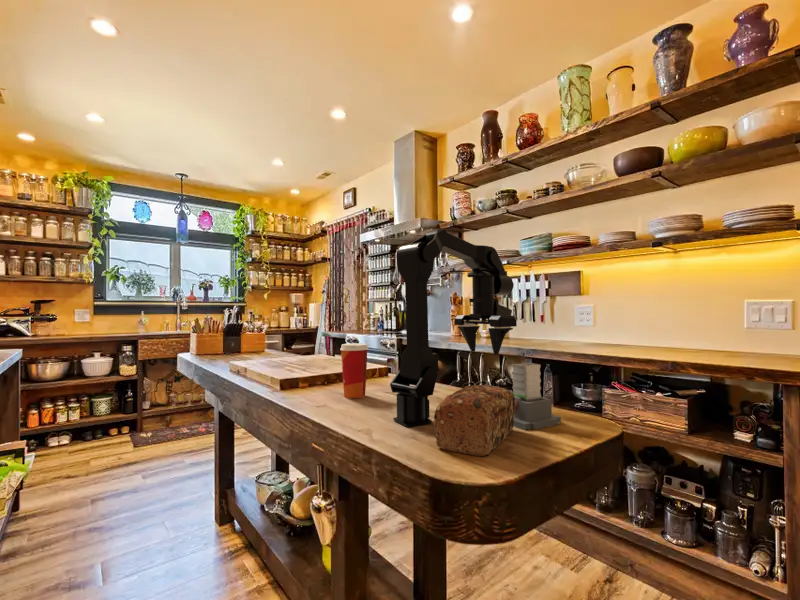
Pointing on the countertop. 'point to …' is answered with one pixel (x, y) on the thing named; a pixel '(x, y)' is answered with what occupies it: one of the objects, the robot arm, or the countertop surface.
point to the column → (526, 381)
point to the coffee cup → (354, 369)
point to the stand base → (534, 414)
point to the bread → (474, 419)
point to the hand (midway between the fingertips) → (484, 353)
